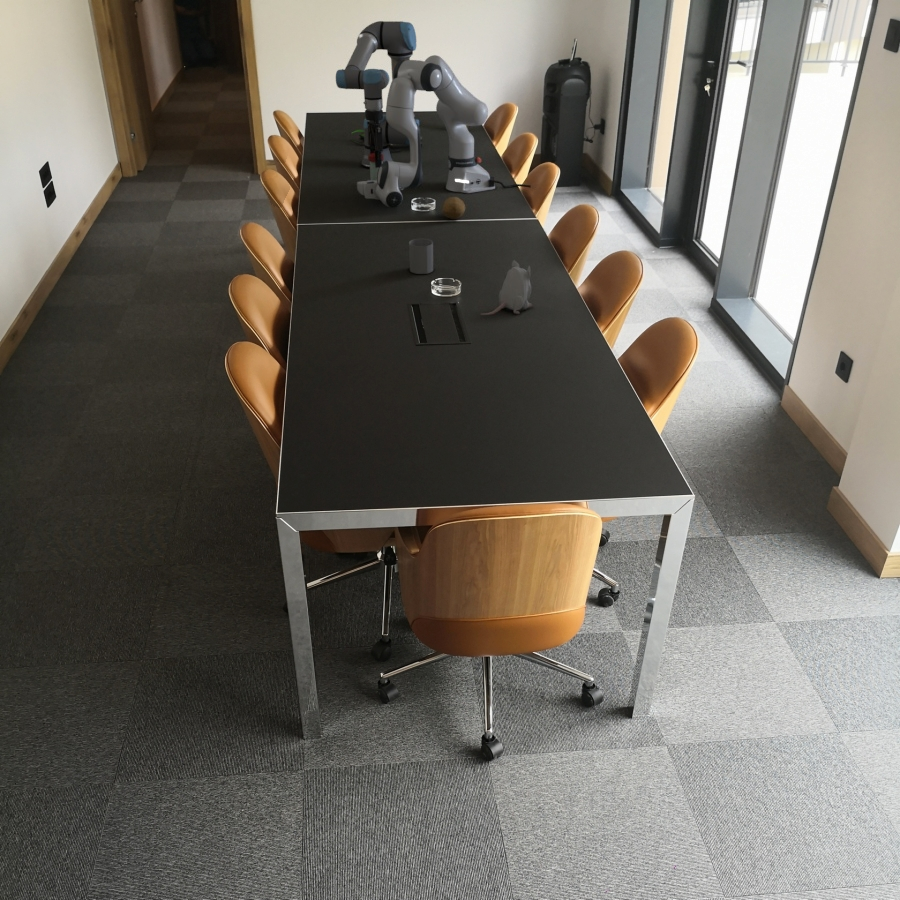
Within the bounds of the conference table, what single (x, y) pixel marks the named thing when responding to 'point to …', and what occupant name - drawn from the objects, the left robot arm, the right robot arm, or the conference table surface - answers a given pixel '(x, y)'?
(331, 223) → the conference table surface
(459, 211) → the potato
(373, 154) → the lid
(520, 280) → the toy
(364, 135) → the left robot arm
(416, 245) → the cup
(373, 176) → the jar
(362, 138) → the scepter
